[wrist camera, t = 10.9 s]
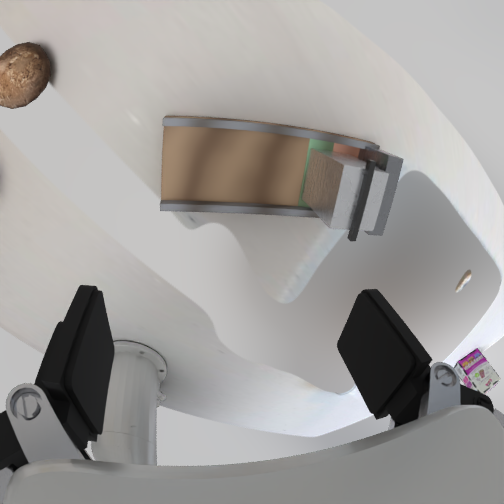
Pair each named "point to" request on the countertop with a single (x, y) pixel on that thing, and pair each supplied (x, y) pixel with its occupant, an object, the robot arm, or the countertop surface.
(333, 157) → the block
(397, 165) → the upright gray plate
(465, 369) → the candy bar box
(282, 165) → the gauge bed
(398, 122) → the countertop surface
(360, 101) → the countertop surface
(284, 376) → the countertop surface
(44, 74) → the mushroom
